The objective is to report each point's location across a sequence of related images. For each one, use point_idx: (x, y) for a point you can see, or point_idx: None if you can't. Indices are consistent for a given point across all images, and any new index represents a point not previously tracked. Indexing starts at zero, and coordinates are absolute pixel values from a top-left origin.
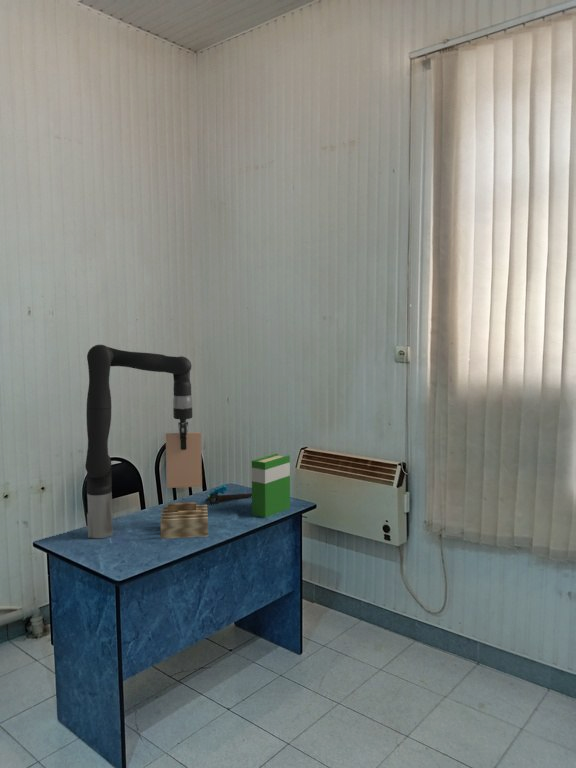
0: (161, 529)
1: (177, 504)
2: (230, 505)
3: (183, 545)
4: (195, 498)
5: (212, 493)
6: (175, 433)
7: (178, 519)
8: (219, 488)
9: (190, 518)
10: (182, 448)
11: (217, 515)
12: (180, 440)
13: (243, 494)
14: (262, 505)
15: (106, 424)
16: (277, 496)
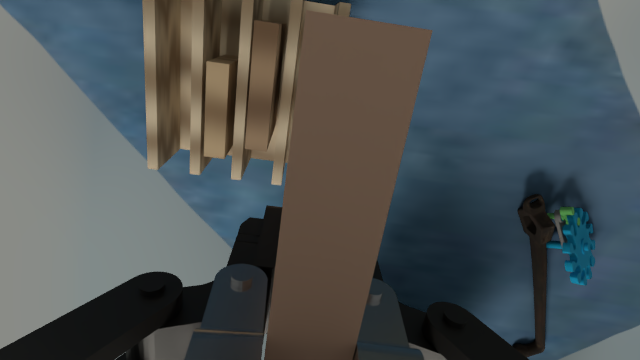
0: None
1: (251, 67)
2: (485, 256)
3: (130, 58)
4: (626, 166)
5: (564, 228)
6: (327, 275)
7: (145, 53)
8: (576, 260)
9: (151, 104)
10: (247, 225)
11: (401, 205)
12: (230, 267)
13: (541, 309)
14: None
15: None
16: None
